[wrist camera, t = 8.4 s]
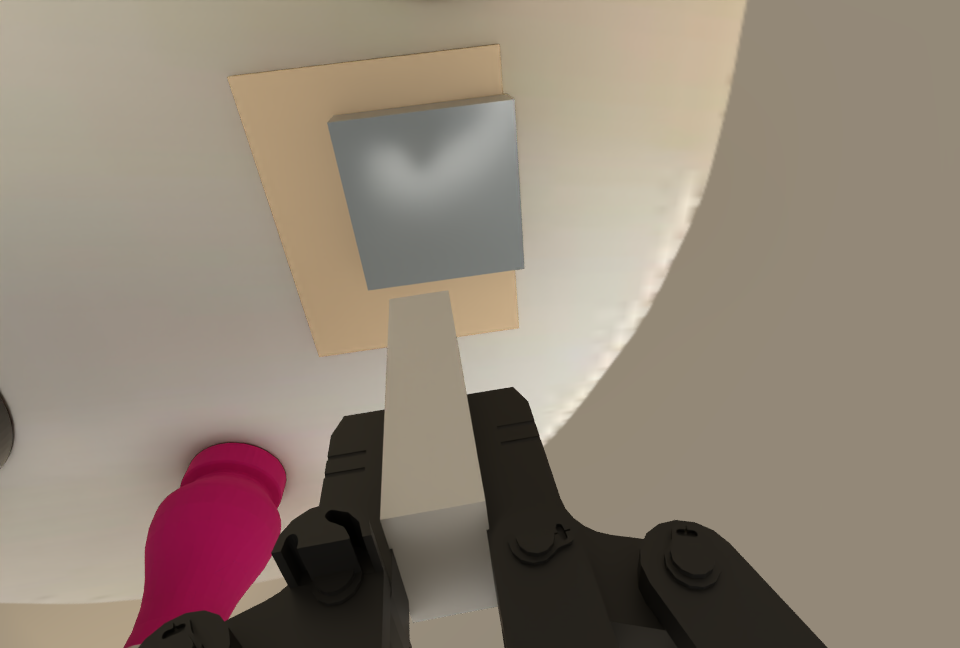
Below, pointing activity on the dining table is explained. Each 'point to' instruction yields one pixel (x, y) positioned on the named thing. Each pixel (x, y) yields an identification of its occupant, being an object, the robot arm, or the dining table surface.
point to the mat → (320, 196)
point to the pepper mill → (211, 536)
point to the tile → (432, 189)
